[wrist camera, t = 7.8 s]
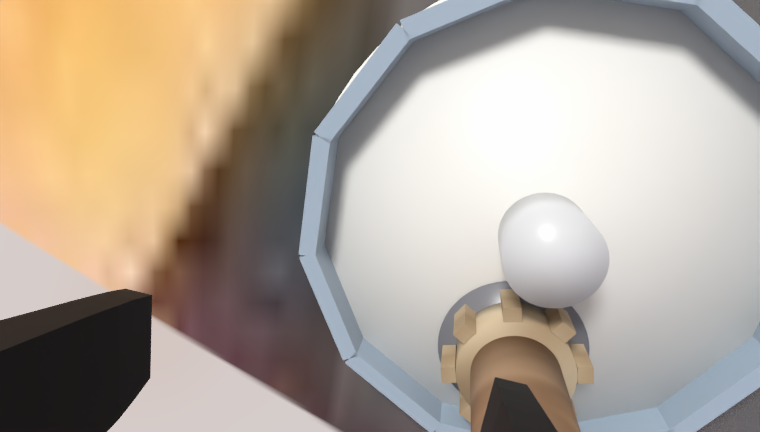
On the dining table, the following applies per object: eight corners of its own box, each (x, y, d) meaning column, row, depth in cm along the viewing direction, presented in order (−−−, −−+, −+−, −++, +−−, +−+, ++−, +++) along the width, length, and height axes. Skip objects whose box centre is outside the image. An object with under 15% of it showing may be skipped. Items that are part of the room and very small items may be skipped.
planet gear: (614, 351, 17) (684, 485, 12) (515, 433, 19) (535, 585, 13) (507, 262, 17) (526, 354, 12) (415, 352, 19) (393, 473, 13)
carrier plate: (931, 209, 16) (1057, 246, 12) (543, 494, 21) (557, 573, 18) (533, -154, 15) (551, -220, 11) (234, 240, 20) (188, 273, 17)
